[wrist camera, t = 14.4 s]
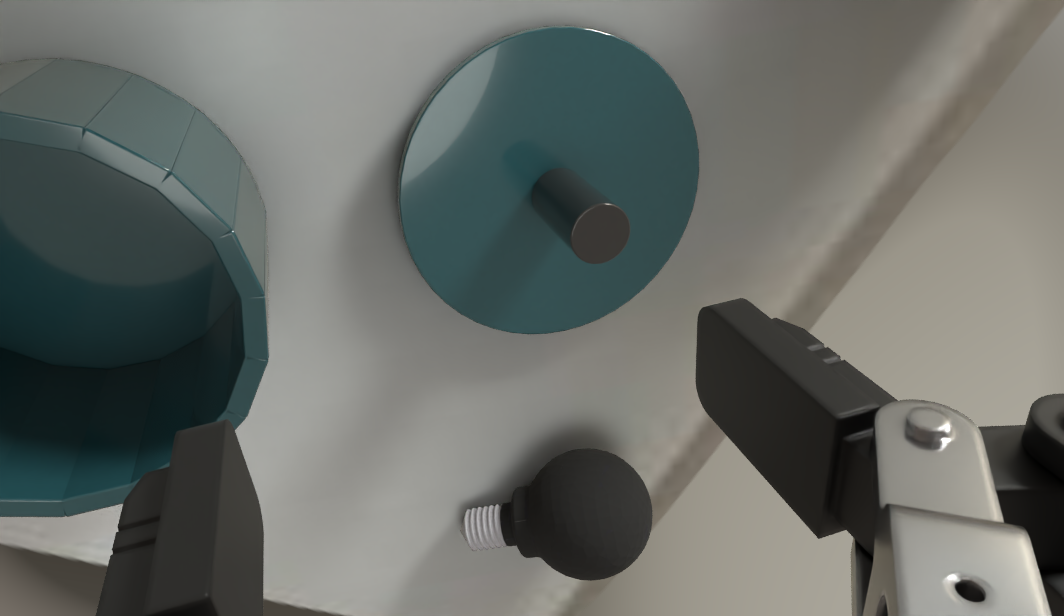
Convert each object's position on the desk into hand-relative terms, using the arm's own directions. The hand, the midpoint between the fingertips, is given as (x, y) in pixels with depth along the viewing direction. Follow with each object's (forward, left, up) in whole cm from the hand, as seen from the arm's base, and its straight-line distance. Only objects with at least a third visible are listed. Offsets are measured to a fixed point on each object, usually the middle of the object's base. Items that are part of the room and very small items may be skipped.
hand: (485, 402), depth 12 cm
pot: (+2, -10, -19) cm, 22 cm away
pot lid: (+3, +8, -19) cm, 21 cm away
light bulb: (+20, +7, -20) cm, 29 cm away
